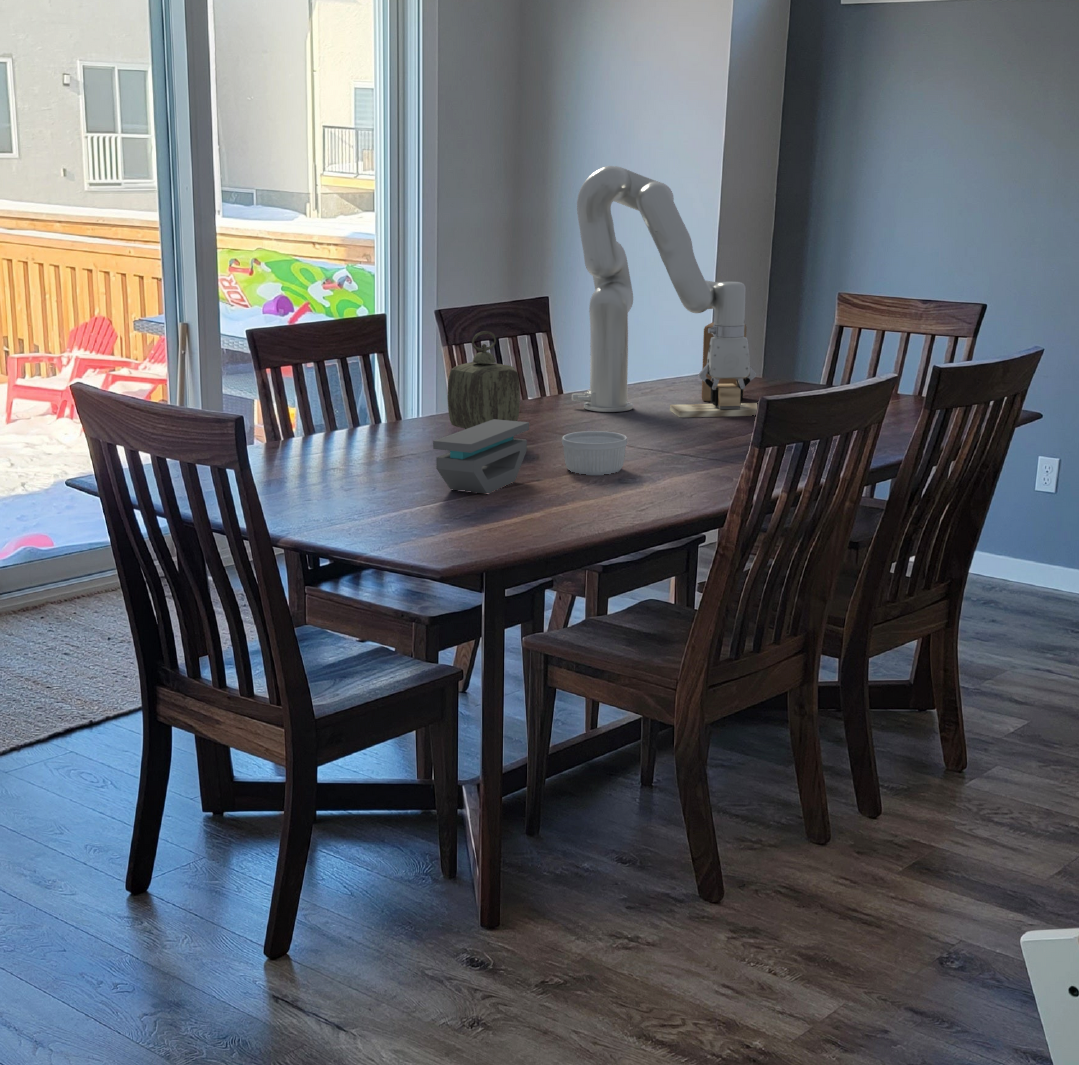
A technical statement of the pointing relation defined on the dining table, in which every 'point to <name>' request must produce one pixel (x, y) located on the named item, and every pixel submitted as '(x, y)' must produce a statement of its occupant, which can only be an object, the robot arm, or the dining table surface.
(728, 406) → the block
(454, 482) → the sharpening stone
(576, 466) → the ramekin
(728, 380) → the wooden block
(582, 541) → the dining table surface
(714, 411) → the birch plank
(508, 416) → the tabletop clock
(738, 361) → the robot arm
